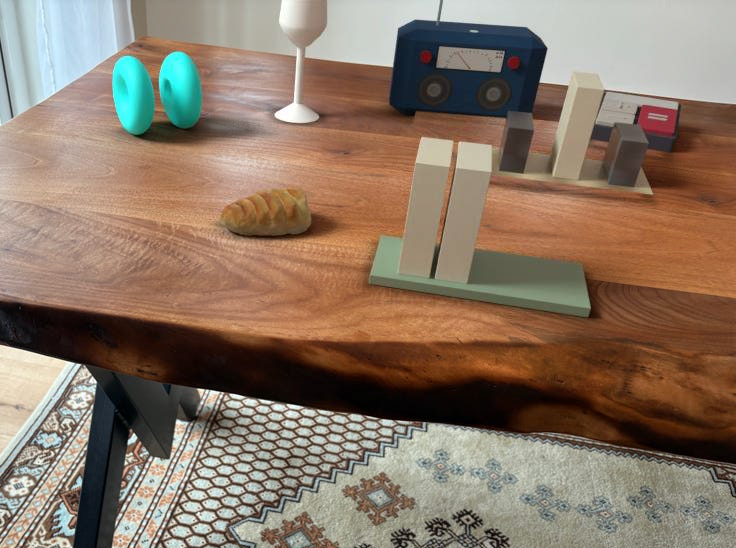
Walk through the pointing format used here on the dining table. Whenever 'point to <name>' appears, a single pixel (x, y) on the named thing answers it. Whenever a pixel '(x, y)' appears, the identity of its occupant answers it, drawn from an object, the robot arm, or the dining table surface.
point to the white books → (468, 242)
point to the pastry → (268, 213)
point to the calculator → (639, 118)
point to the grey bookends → (610, 173)
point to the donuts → (175, 92)
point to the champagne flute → (301, 48)
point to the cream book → (576, 125)
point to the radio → (465, 68)
